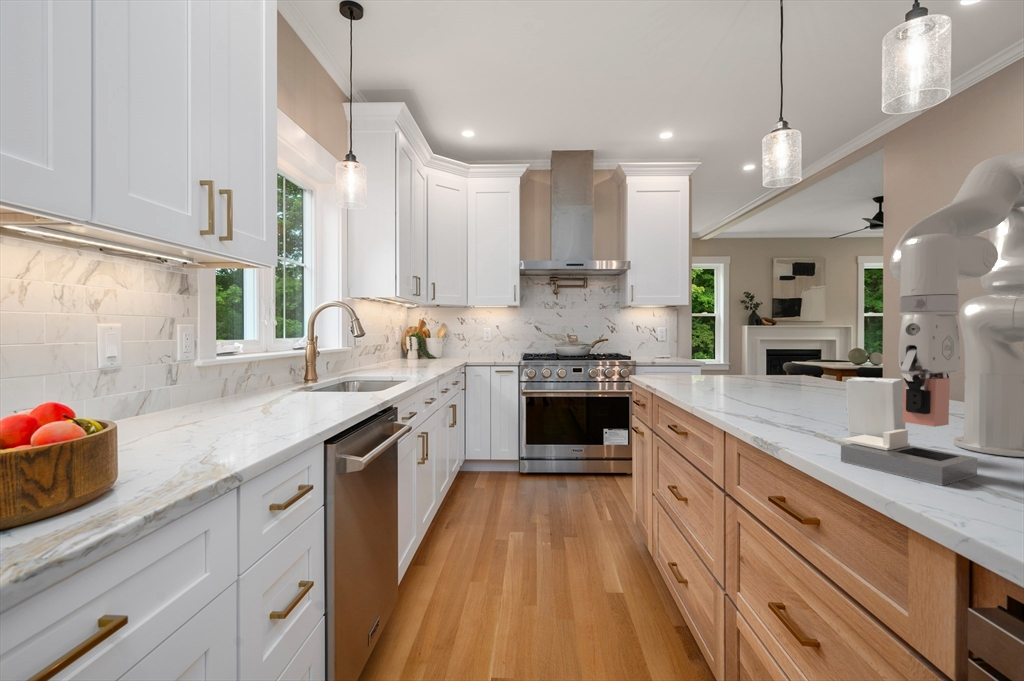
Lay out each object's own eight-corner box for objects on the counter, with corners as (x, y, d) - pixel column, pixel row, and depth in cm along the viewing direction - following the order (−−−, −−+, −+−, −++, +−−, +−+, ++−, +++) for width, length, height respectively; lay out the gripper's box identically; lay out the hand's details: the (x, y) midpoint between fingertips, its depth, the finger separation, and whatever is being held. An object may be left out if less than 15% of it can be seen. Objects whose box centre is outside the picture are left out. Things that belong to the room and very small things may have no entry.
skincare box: (906, 452, 91) (907, 379, 91) (895, 457, 88) (896, 381, 88) (857, 444, 98) (857, 375, 98) (845, 448, 95) (845, 377, 95)
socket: (876, 453, 91) (876, 438, 91) (977, 475, 77) (977, 457, 77) (840, 461, 86) (840, 445, 86) (941, 485, 72) (942, 467, 72)
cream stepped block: (864, 437, 92) (865, 422, 92) (909, 445, 85) (910, 429, 85) (842, 441, 89) (842, 425, 89) (887, 450, 82) (887, 433, 82)
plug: (948, 424, 78) (949, 366, 78) (934, 426, 76) (936, 367, 76) (916, 419, 82) (917, 364, 82) (902, 421, 81) (904, 365, 80)
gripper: (929, 304, 72) (926, 419, 72) (980, 307, 79) (978, 412, 79) (875, 306, 79) (873, 411, 79) (927, 309, 86) (925, 405, 86)
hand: (925, 410), depth 79 cm, fingers closed on plug, 4 cm apart
